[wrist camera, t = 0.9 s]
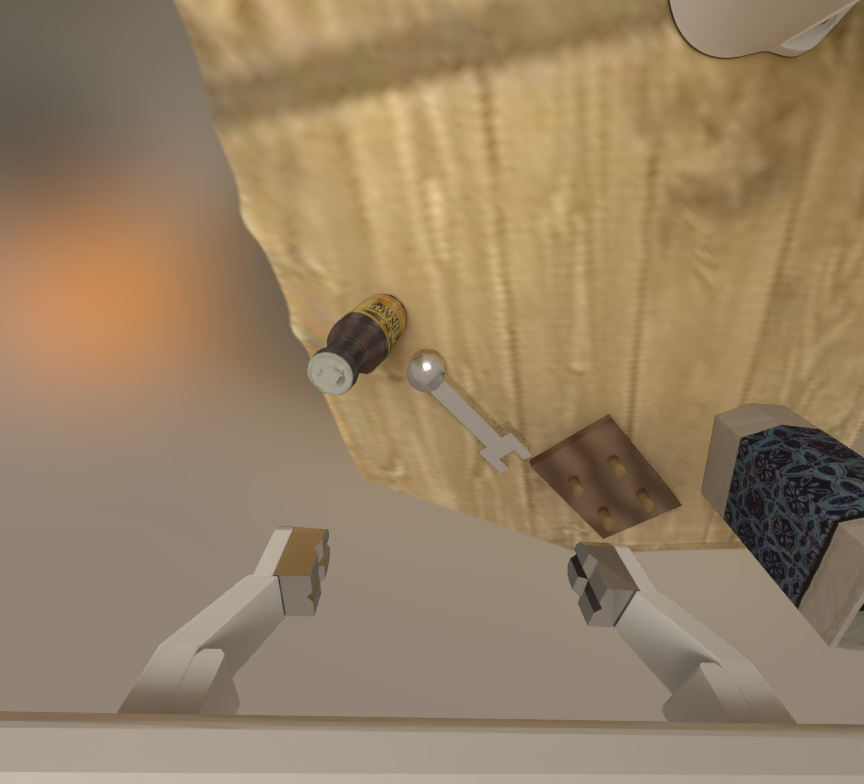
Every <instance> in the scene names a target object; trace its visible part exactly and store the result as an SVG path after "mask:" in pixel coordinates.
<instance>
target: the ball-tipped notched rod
mask: <svg viewBox="0 0 864 784" xmlns="http://www.w3.org/2000/svg"><path fill="white" fill-rule="evenodd" d="M445 370H446V364H445V360H444V358H443V357H442V356H441V355H440V354H439V353H438V352H436V351H433V350H428V349H426V350H421V351H419V352H417V353H416V354H415V355H414V356H413V357H412V359H411V362H410V365H409V367H408V370H407V378H408V381H409V382H410V384H411V385H412V386H413V387H414V388H416V389H417V390H420V391H423V392H430V393H431V394H432V395H433V396H434V397H435V398H436V399H437V400H438V401H440V402H441V403H442V404H443V405H444V406H445V407H446V408H447V409H448V410H449V411H450V412H451V413H452V414H453V415H454V416H455V417H456V418H457V419H458V420H459V421H460V422H461V423H462V424H463V425H464V426H465V427H466V428H467V429H468V430H469V431H470V432H472V433H473V434H474V435H475V436H476V437H477V438H478V439H479V440H478V448H479V453H480V454H481V455H482V456H483V457H484V458H485V459H486V460H487V461H488V462H489V463H490V464H491V465H492V466H493V467H494V468H495V469H497V470H498V471H499V472H500V473H503V472H504V471H506V470H508V469H509V466H508V460H507V456H506V455H507V454H508V453H510V452H512V451H513V450H514V451H515V452H516V453H517V454H518V455H519V456H520V457H521V458H522V459H523V460H525V459H527V458H528V457H530V456H532V451H531V448H530V444H529V442H528V441H527V440H526V439H525V438H524V437H523V436H522V435H521V434H520V433H519V432H518V431H517V430H516V429H515V428H514V427H513V426H512V424H511V423H510V422H509V421H507V422H506V423H504V424H503V425H501V426H499V425H498V424H497V423H496V422H495V421H494V420H493V419H492V418H491V417H490V416H489V415H488V414H487V413H486V412H485V411H484V410H483V409H482V408H481V407H480V406H479V405H478V404H477V403H476V402H475V401H474V400H473V399H472V398H471V397H470V396H469V395H468V393H467V392H466V391H465V390H464V389H463V388H462V387H461V386H460V385H459V384H458V383H457V382H456V381H455V380H454V379H453V378H452V377H451V376H450V375H449V374H448V373H447V372H446V371H445Z"/></svg>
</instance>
